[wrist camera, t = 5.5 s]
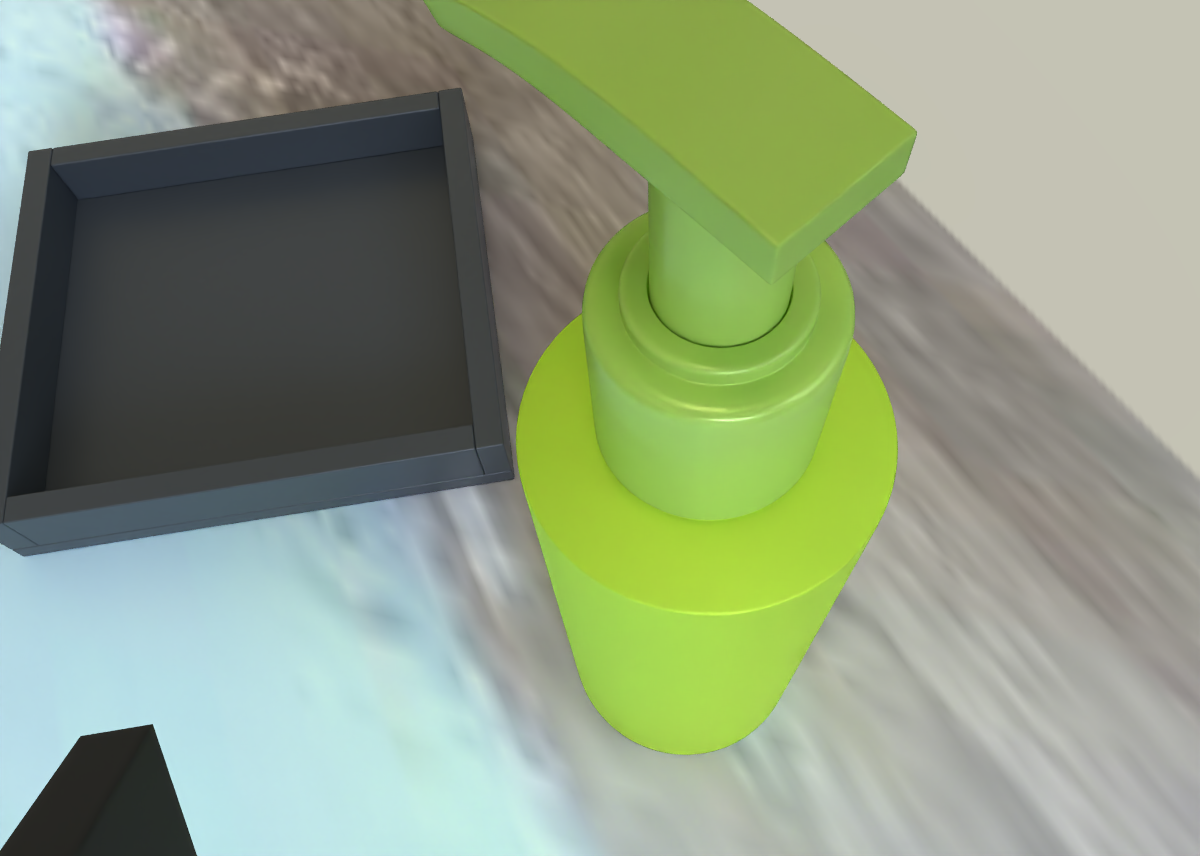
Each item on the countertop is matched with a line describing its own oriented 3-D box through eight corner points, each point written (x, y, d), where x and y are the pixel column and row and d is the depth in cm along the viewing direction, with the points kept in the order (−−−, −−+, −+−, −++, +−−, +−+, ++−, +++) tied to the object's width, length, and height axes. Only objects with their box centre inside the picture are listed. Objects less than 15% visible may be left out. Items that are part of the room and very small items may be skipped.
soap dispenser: (657, 478, 29) (665, -226, 11) (836, 647, 27) (1209, 89, 9) (506, 612, 28) (236, 39, 10) (681, 805, 25) (752, 513, 7)
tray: (472, 137, 35) (461, 86, 33) (515, 479, 29) (503, 444, 27) (66, 197, 35) (28, 150, 33) (23, 557, 29) (-28, 528, 27)
